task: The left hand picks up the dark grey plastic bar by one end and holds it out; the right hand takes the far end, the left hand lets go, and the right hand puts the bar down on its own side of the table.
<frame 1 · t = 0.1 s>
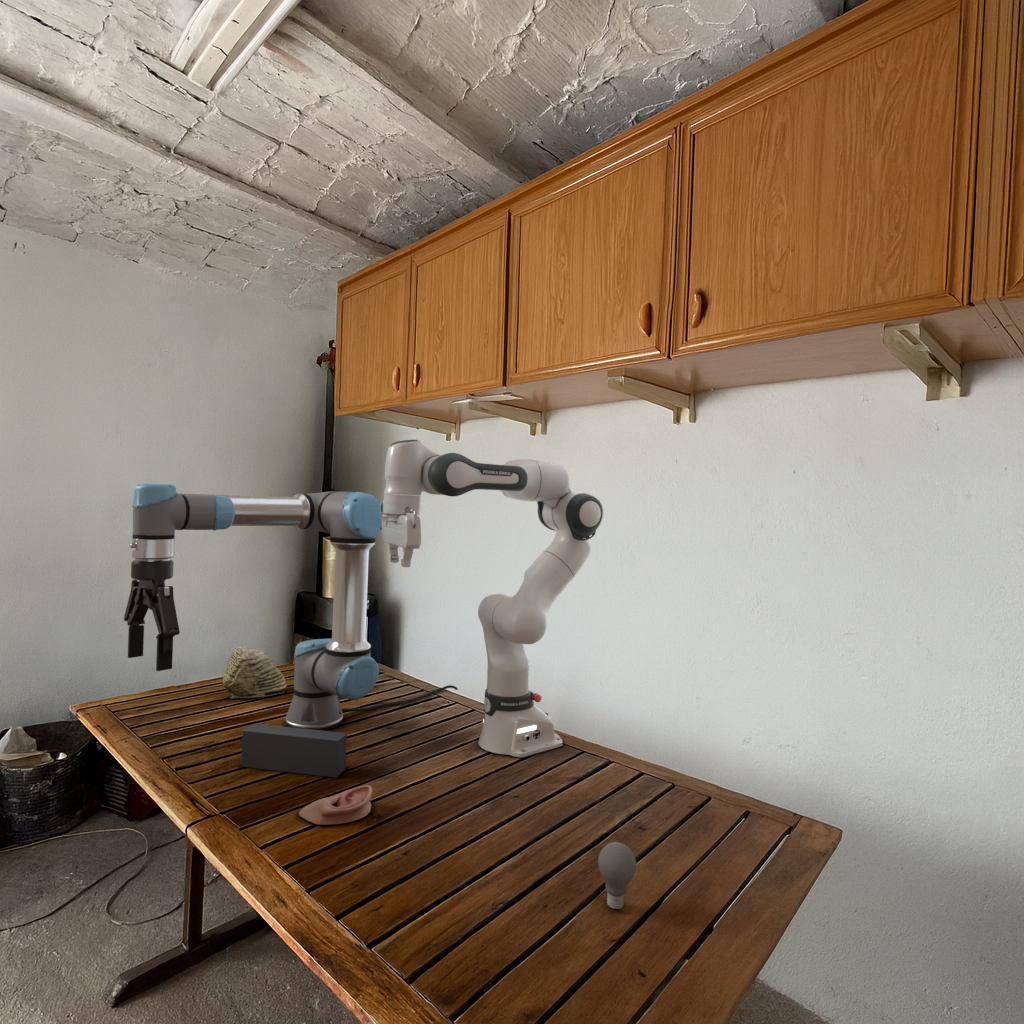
left hand: (149, 663, 129), 28 cm above the table, tool pointing down, fingers open, 13 cm apart
right hand: (399, 564, 152), 48 cm above the table, tool pointing down, fingers open, 8 cm apart
light bulb: (614, 907, 101), on the table
fossil: (254, 694, 198), on the table
bar: (293, 767, 147), on the table
anatomical model: (335, 812, 127), on the table
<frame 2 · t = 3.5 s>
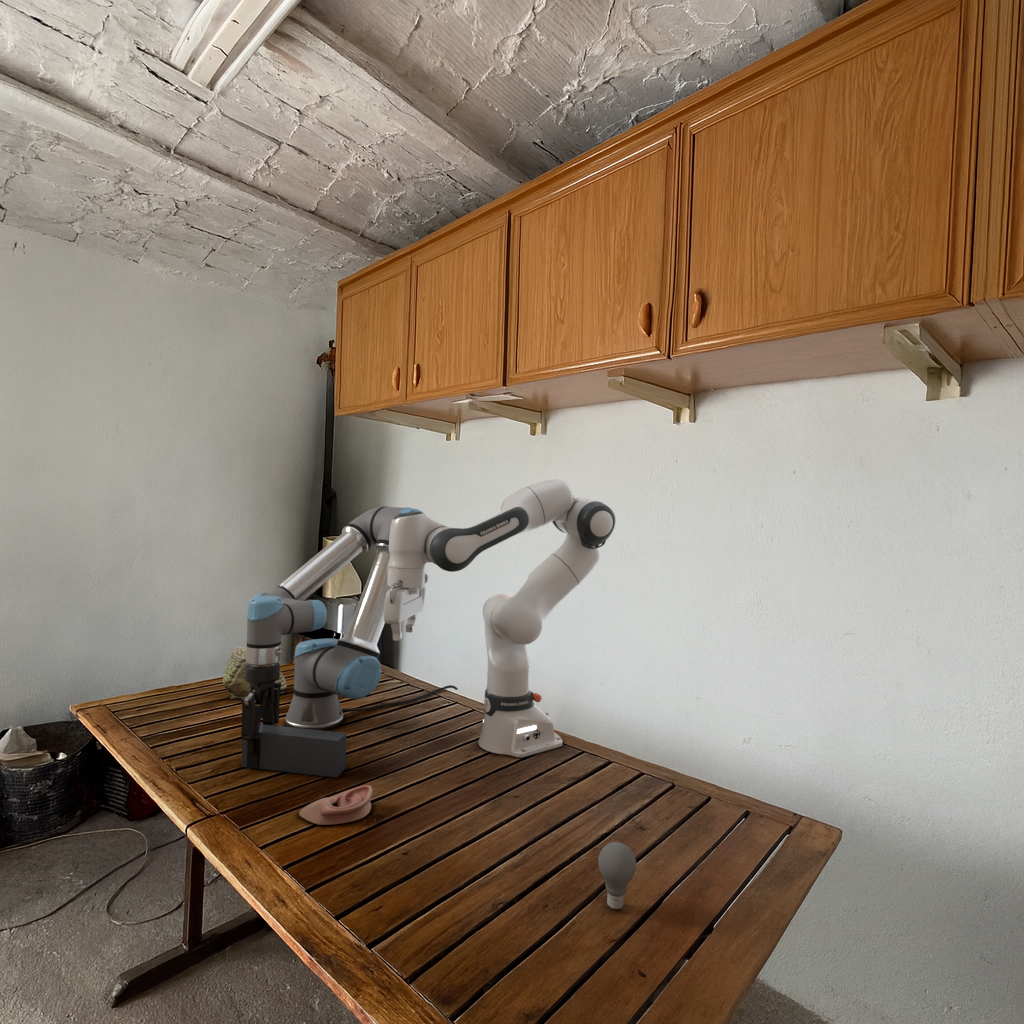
left hand: (259, 761, 148), 1 cm above the table, tool pointing down, fingers closed on bar, 5 cm apart
right hand: (403, 635, 153), 31 cm above the table, tool pointing down, fingers open, 8 cm apart
bar: (293, 767, 147), on the table, touching left hand
everything else where it was.
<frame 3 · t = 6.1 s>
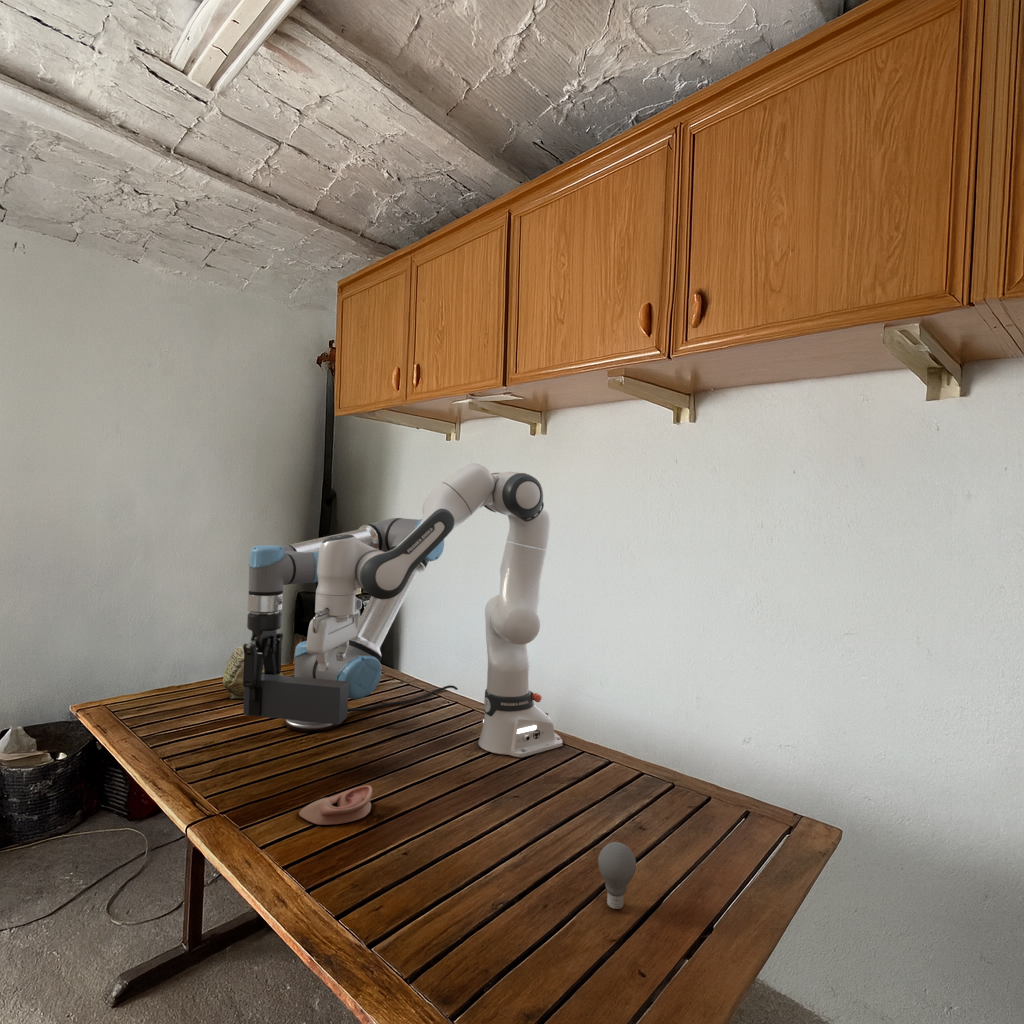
left hand: (261, 710, 148), 13 cm above the table, tool pointing down, fingers closed on bar, 5 cm apart
right hand: (332, 665, 145), 25 cm above the table, tool pointing down, fingers open, 8 cm apart
bar: (295, 716, 147), point 12 cm above the table, touching left hand
everything else where it was.
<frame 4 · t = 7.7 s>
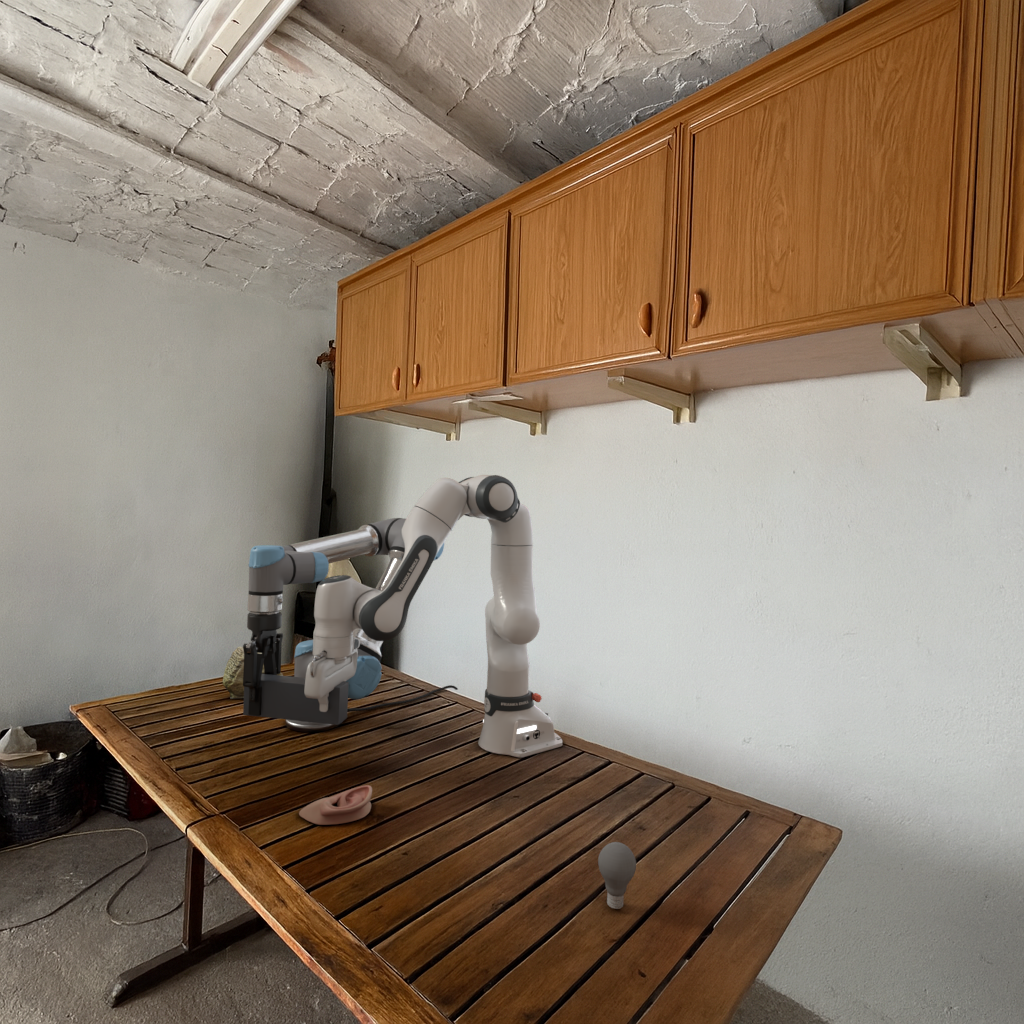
left hand: (261, 710, 148), 13 cm above the table, tool pointing down, fingers closed on bar, 5 cm apart
right hand: (330, 706, 146), 15 cm above the table, tool pointing down, fingers closed on bar, 5 cm apart
bar: (295, 716, 147), point 12 cm above the table, touching left hand, right hand
everything else where it was.
when the left hand's fingers open (13 cm above the table, at t = 8.7 s): bar stays where it is, held by the right hand.
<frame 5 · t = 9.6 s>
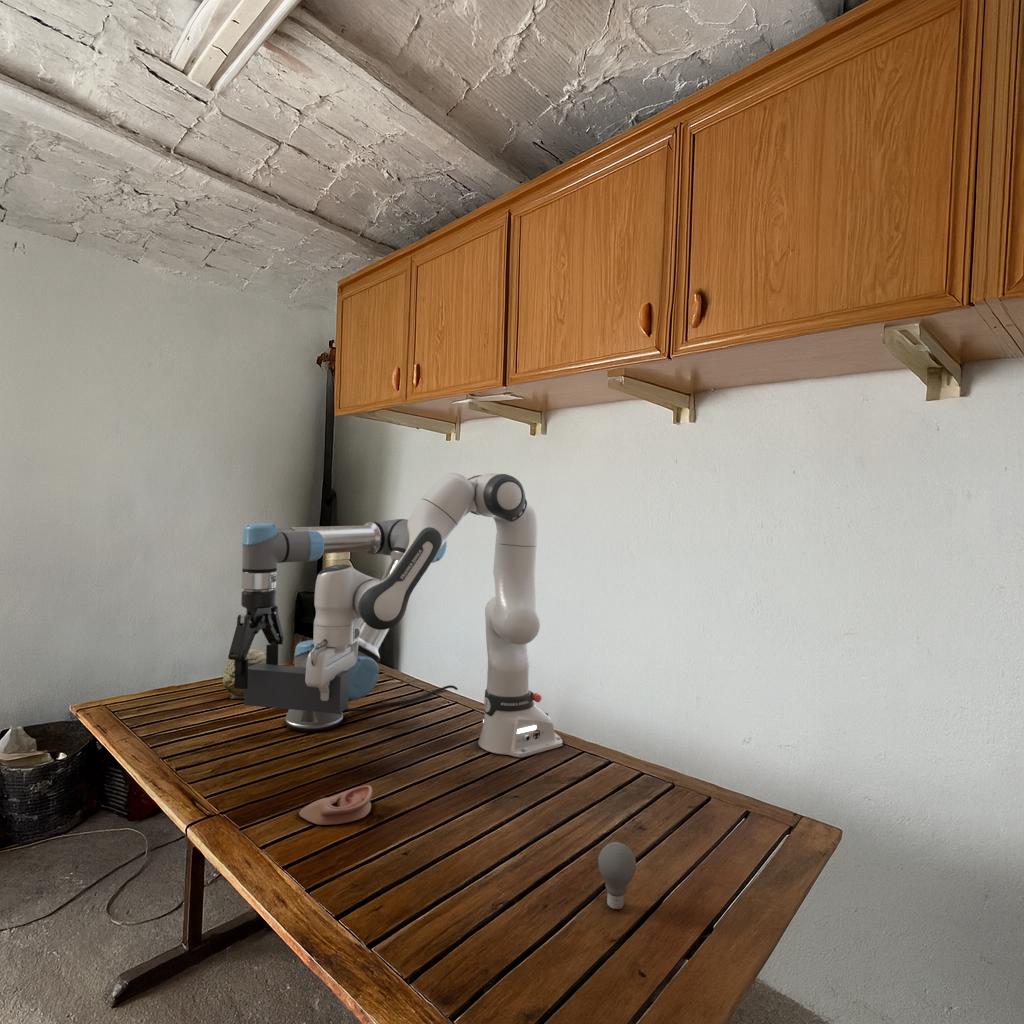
left hand: (257, 679, 149), 20 cm above the table, tool pointing down, fingers open, 13 cm apart
right hand: (331, 695, 146), 18 cm above the table, tool pointing down, fingers closed on bar, 5 cm apart
bar: (296, 706, 147), point 14 cm above the table, touching right hand
everything else where it was.
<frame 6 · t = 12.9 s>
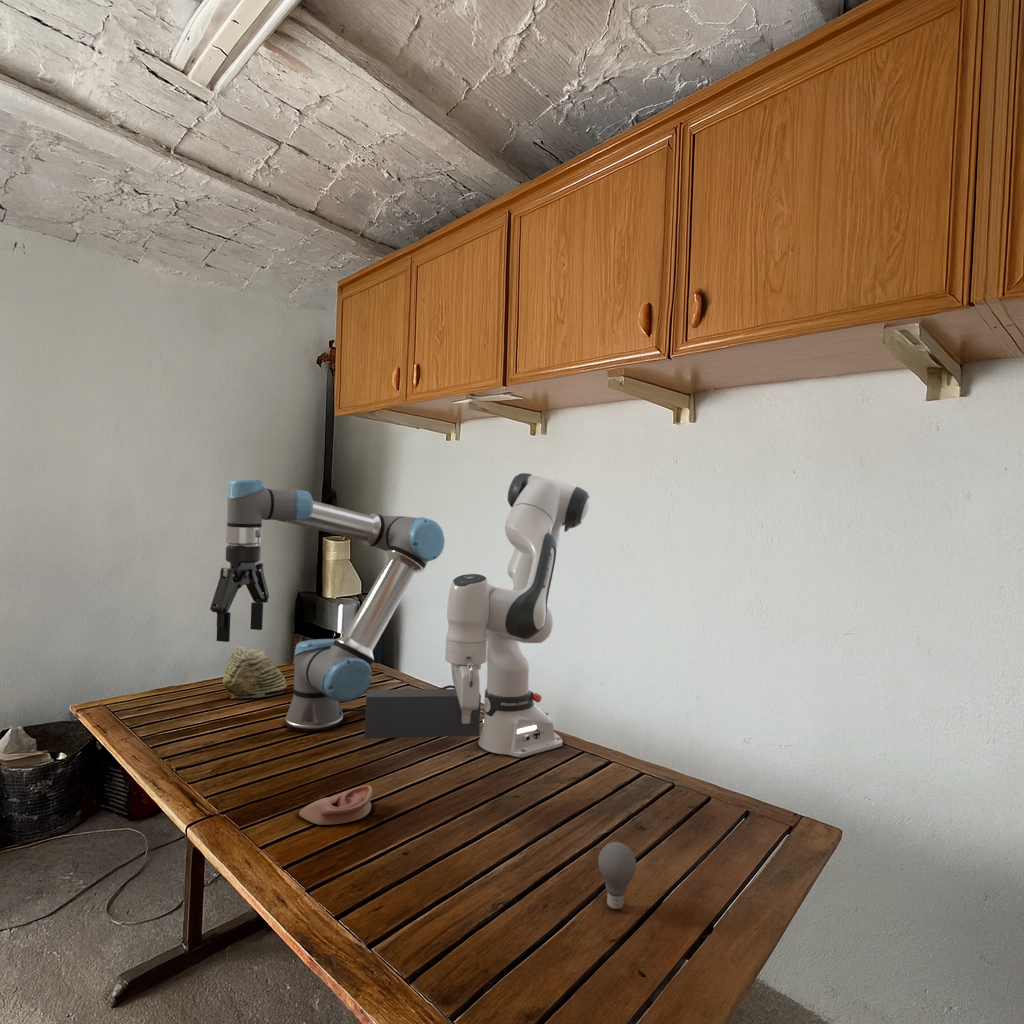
left hand: (240, 635, 149), 30 cm above the table, tool pointing down, fingers open, 13 cm apart
right hand: (463, 717, 134), 18 cm above the table, tool pointing down, fingers closed on bar, 5 cm apart
bar: (422, 732, 132), point 15 cm above the table, touching right hand
everything else where it was.
when the right hand's fingers open (4 cm above the table, at t = 18.0 s): bar drops 1 cm, on the table.
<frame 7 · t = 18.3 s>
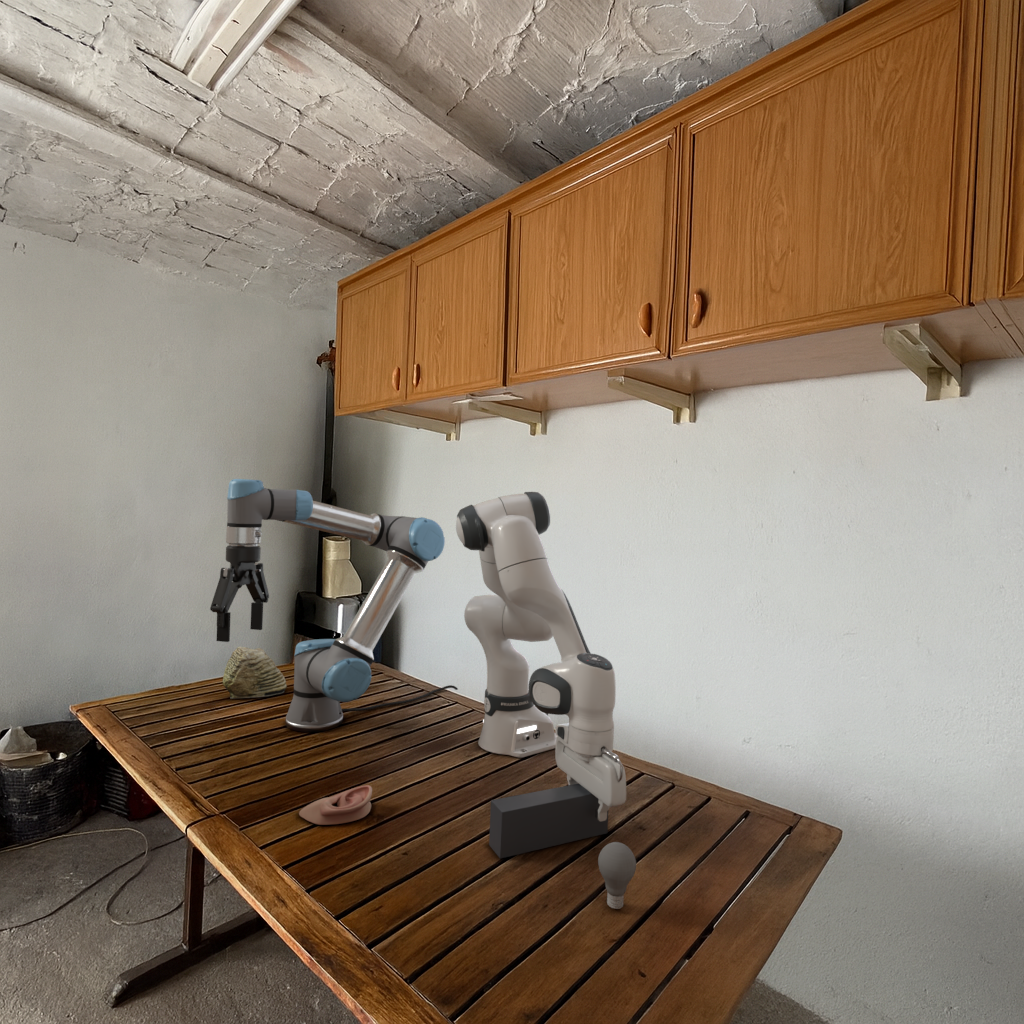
left hand: (240, 635, 149), 30 cm above the table, tool pointing down, fingers open, 13 cm apart
right hand: (587, 808, 125), 4 cm above the table, tool pointing down, fingers open, 8 cm apart
bar: (549, 839, 121), on the table
everything else where it was.
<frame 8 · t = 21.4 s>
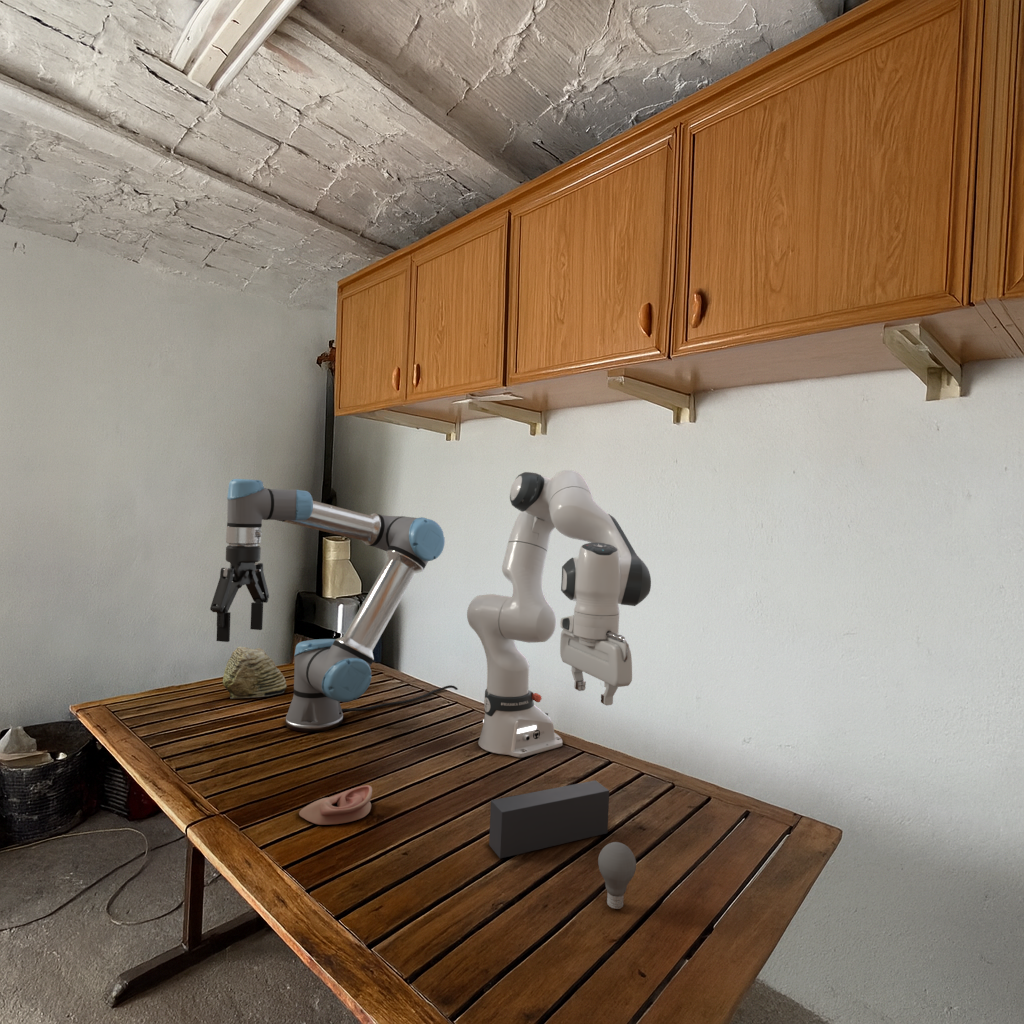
left hand: (240, 635, 149), 30 cm above the table, tool pointing down, fingers open, 13 cm apart
right hand: (592, 696, 124), 27 cm above the table, tool pointing down, fingers open, 8 cm apart
nothing on the table moved.
at the end: bar inside the target area (8.3 cm from its centre), on the table; the left hand is holding nothing; the right hand is holding nothing; bar at rest at the end (0.0 cm/s) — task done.
